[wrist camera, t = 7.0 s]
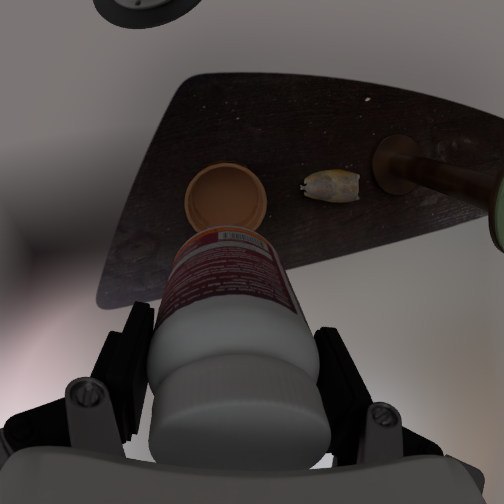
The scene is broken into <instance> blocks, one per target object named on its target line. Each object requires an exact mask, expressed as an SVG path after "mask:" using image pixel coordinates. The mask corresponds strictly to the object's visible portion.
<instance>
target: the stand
mask: <svg viewBox="0 0 504 504" xmlns="http://www.w3.org/2000/svg"><path fill="white" fill-rule="evenodd" d="M370 169H371V174H372V177H373V179H374V181H375V183H376V184H377V185H378V186H379V188H381V189H382V190H383V191H385V192H387V193H389V194H392V195H404V194H407V193H409V192H411V191H412V190H413V189H414V188H415V187H416V186H417V185H418V184H419V185H421V186H424V187H427V188H429V189H432V190H435V191H437V192H440V193H443V194H445V195H448V196H450V197H453V198H455V199H458V200H460V201H462V202H465V203H467V204H470V205H472V206H474V207H477V208H479V209H481V210H484V211H486V212H488V220H489V230H490V235H491V238H492V241H493V243H494V245H495V246H496V248H497V249H498V250H500V251H501V252H503V253H504V250H503V249H502V248H501V246H500V244H499V242H498V240H497V237H496V232H495V206H496V199H497V195H498V191H499V188H500V185H501V182H502V179H503V177H504V164H503V165H502V167H501V169H500V170H499V172H498V174H497V176H493V175H489V174H486V173H482V172H479V171H475V170H472V169H468V168H464V167H461V166H457V165H453V164H449V163H445V162H441V161H436V160H432V159H428V158H423V155H422V152H421V150H420V148H419V146H418V145H417V143H416V142H415V141H414V140H413V139H411V138H410V137H408V136H405V135H402V134H390V135H387V136H385V137H383V138H382V139H381V140H380V141H379V142H378V143H377V144H376V145H375V147H374V149H373V151H372V154H371V159H370Z"/></svg>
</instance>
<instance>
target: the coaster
mask: <svg viewBox="0 0 504 504" xmlns="http://www.w3.org/2000/svg"><path fill="white" fill-rule="evenodd" d="M495 232H496V237H497V240H498V242H499V244H500V246H501V248H502V249H503V250H504V177H503V179H502V182H501V185H500V188H499V191H498V195H497V199H496V206H495Z"/></svg>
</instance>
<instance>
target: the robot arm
mask: <svg viewBox="0 0 504 504" xmlns="http://www.w3.org/2000/svg"><path fill="white" fill-rule="evenodd" d="M114 1H115V2H116V3H117V4H119V5H121V6H122V7H125V8H128V9H135V10H144V9H150V8H154V7H157V6H161V5H163V4H165V3H167V2H169V1H171V0H114ZM139 4H140V5H139ZM153 327H154V308H150V305H149V304H148V303H143V302H137V301H135V303H134V305H133V307H132V310H131V312H130V315H129V317H128V319H127V322H126V324H125V327H124V329H123V332H122V333H120V332H115V331H110V332H109V334H108V336H107V338H106V341H105V343H104V346H103V348H102V350H101V352H100V354H99V357H98V359H97V361H96V364H95V366H94V369H93V371H92V373H91V376H90V377H81V378H77V379H75V380H73V381H71V382H70V383H69V384H68V386H67V387H66V390H65V397H64V398H61V399H58V400H56V401H53V402H50V403H47V404H45V405H42V406H39V407H36V408H34V409H30V410H28V411H25V412H22V413H19V414H16V415H14V416H12V417H10V418H9V419H8V420H7V421H6V423H5V425H4V428H1V429H0V504H486V502H485V500H484V498H483V497H482V492H483V488H484V483H485V478H484V476H483V473H482V472H481V471H480V470H479V469H477V468H475V467H473V466H471V465H468V464H466V463H464V462H462V461H460V460H458V459H456V458H453V457H452V456H449V455H447V454H446V455H445V456H444V455H443V451H442V450H441V448H440V447H439V446H438V445H437V444H435V443H434V442H432V441H430V440H428V439H426V438H424V437H422V436H420V435H418V434H416V433H414V432H412V431H411V430H409V429H407V428H405V427H403V426H402V421H401V416H400V414H399V412H398V410H396V409H395V408H394V407H393V406H391V405H390V404H387V403H384V402H374V403H373V401H372V399H371V396H370V394H369V392H368V390H367V388H366V386H365V384H364V382H363V380H362V378H361V376H360V374H359V372H358V370H357V368H356V366H355V364H354V362H353V360H352V358H351V356H350V354H349V352H348V350H347V348H346V346H345V344H344V342H343V341H342V339H341V337H340V335H339V333H338V331H337V329H336V328H332V327H321V328H320V330H317V331H316V332H315V335H314V339H315V343H316V346H317V349H318V353H319V361H320V368H319V376H318V380H317V383H316V386H317V388H318V390H319V393H320V396H321V399H322V403H323V407H324V410H325V413H326V416H327V419H328V423H329V426H330V430H331V442H330V446H329V448H328V450H327V452H326V453H332V455H333V456H334V457H333V462H332V467H331V468H321V469H307V470H289V471H235V470H216V469H203V468H192V467H183V466H175V465H167V464H160V463H154V462H147V461H141V460H136V459H130V458H126V456H125V453H124V449H123V446H122V444H124V443H126V441H131V437H132V434H136V435H137V433H138V429H139V424H140V418H141V414H142V409H143V404H144V399H145V394H146V389H147V385H148V379H147V374H146V360H147V354H148V350H149V345H150V340H151V337H152V334H153Z"/></svg>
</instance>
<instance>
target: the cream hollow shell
mask: <svg viewBox="0 0 504 504" xmlns="http://www.w3.org/2000/svg"><path fill="white" fill-rule="evenodd" d="M359 176H360V175H358V174H355V173H351V172H347V171H344V170H337V169H335V170H325V171H320V172H316V173H313V174H311V175H309V176H308V177H306V178H305V181H304V184H306V183H307V185H306V186H302V185H300V186H301V189H302V190H306V193H305V192H304V194H305V196H308V197H311V198H314V199H320V200H325V201H328V202H339V203H344V202H351V201H355V200H359V199H360V197H359V196H358V192H359V190H358V179H359V178H360V177H359Z"/></svg>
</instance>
